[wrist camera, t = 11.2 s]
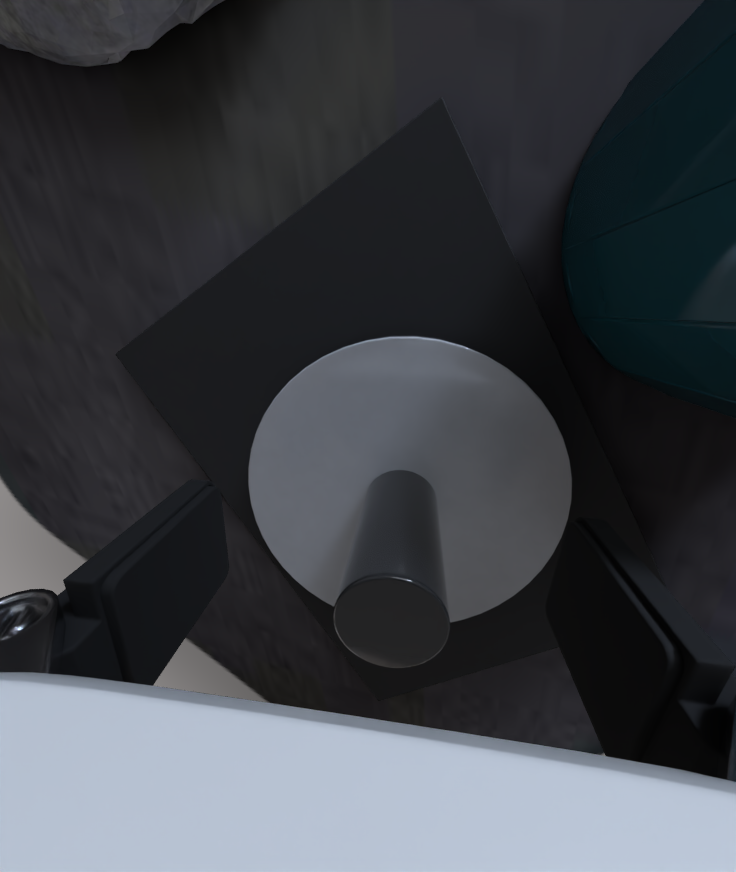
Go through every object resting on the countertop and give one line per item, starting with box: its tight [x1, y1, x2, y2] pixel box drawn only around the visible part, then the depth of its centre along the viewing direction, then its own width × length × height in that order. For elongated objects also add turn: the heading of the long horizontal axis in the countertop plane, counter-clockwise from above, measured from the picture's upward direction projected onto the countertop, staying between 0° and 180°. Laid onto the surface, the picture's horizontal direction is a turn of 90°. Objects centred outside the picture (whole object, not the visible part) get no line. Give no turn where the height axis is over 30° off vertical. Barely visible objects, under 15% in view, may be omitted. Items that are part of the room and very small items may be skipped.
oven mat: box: [116, 98, 667, 701], centre depth 15 cm, size 20×14×1 cm
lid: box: [248, 336, 572, 668], centre depth 11 cm, size 12×12×7 cm
